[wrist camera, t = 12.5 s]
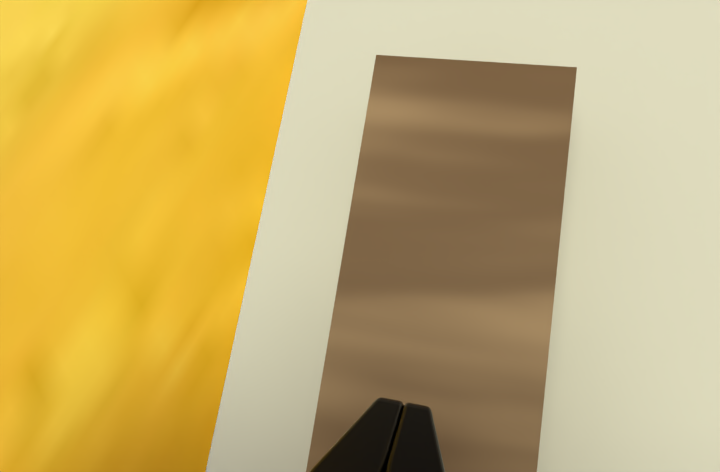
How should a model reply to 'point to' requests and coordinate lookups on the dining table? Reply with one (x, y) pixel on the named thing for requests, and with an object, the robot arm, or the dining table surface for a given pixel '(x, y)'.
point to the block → (452, 256)
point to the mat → (577, 238)
